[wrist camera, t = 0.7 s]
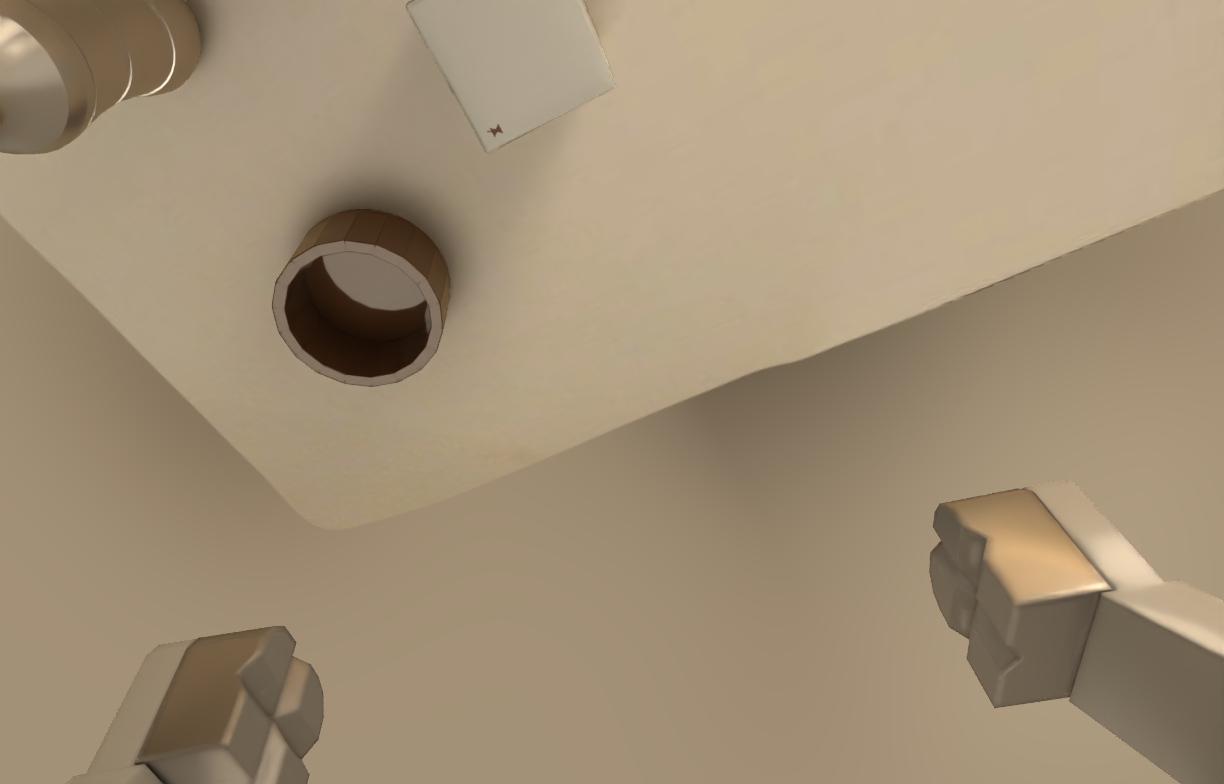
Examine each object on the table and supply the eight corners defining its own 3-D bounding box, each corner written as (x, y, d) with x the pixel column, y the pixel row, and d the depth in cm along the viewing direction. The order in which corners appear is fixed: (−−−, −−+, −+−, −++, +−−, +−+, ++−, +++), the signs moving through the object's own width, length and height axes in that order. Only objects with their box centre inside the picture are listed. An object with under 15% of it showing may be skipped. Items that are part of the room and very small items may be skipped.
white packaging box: (603, 45, 46) (621, 93, 36) (495, 99, 47) (483, 160, 37) (548, -85, 42) (552, -75, 32) (432, -23, 43) (399, 7, 33)
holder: (269, 224, 51) (243, 258, 46) (426, 195, 50) (415, 226, 46) (327, 357, 57) (309, 398, 52) (468, 331, 56) (462, 371, 52)
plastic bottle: (160, 106, 46) (-52, 230, 30) (61, 1, 43) (-243, 75, 26) (237, 45, 45) (59, 140, 28) (141, -70, 41) (-127, -39, 25)
